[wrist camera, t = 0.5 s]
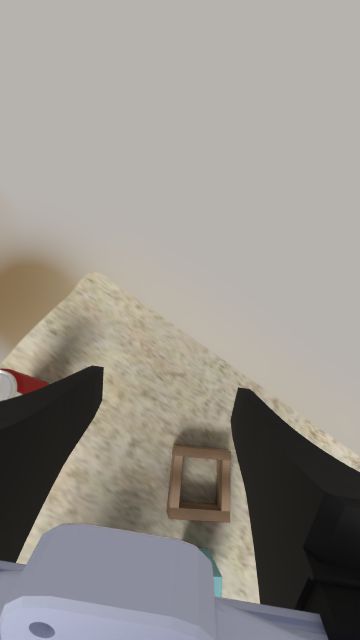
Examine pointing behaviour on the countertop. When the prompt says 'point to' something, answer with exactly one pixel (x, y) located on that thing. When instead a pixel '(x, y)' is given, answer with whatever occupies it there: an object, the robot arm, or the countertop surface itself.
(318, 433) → the countertop surface
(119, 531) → the robot arm
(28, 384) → the soda can
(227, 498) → the well frame
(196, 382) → the countertop surface
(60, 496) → the countertop surface
